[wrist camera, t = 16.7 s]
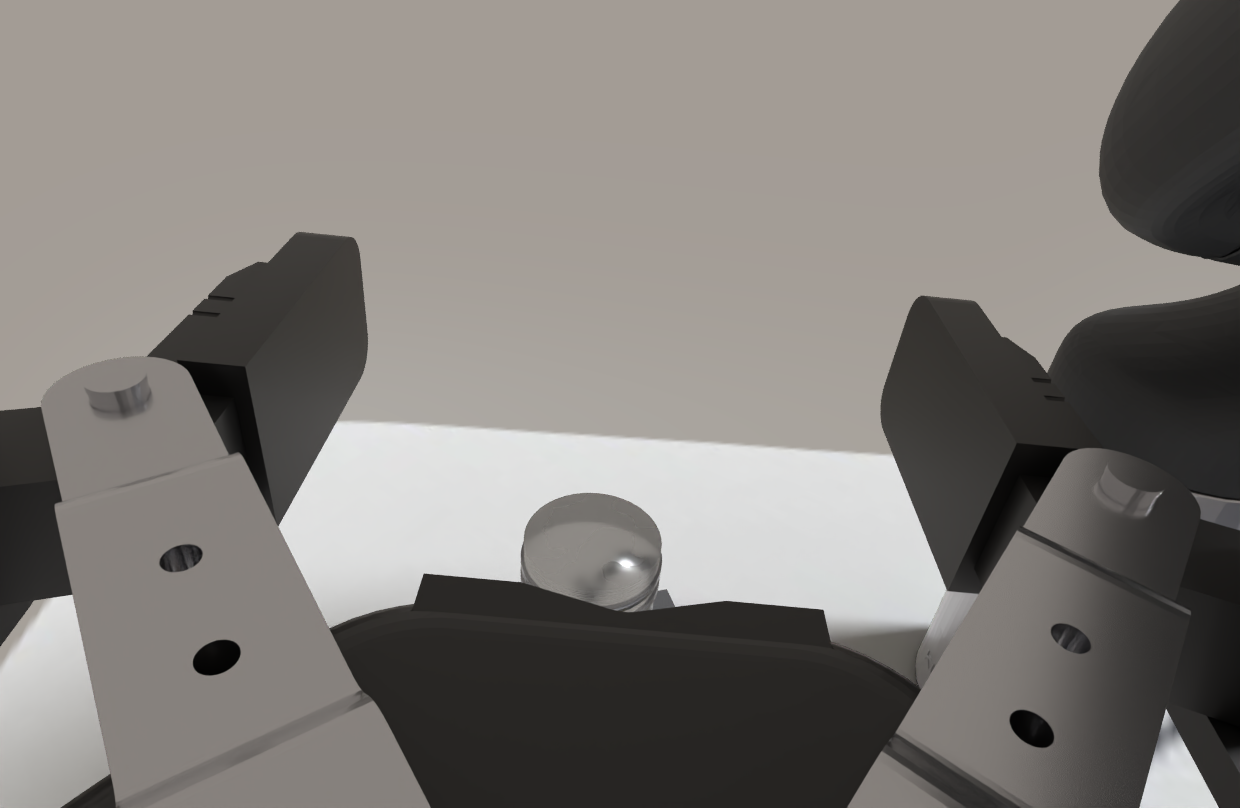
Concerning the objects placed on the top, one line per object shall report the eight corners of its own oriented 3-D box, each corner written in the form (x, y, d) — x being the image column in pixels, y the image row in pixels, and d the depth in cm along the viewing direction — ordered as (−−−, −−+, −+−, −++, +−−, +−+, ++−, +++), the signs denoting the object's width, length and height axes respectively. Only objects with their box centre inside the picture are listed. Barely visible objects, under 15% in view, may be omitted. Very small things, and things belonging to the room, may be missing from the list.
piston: (613, 673, 39) (635, 482, 32) (652, 770, 35) (686, 575, 28) (507, 699, 37) (506, 503, 30) (535, 804, 33) (542, 606, 27)
